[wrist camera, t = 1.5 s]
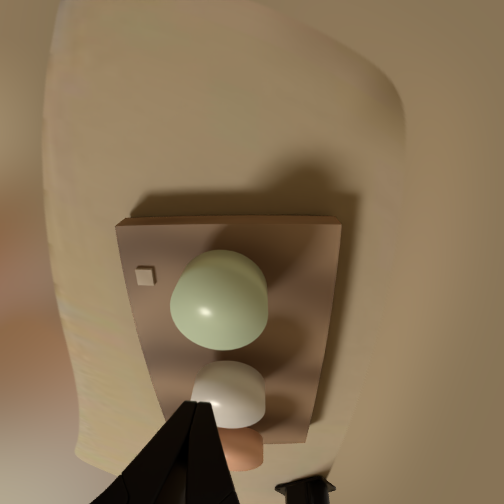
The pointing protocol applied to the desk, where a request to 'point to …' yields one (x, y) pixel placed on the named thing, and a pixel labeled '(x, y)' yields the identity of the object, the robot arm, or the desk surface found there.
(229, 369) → the grey button
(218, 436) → the robot arm
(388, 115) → the desk surface
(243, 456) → the terracotta button
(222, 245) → the console
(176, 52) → the desk surface
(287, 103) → the desk surface
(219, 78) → the desk surface
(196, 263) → the sage button
